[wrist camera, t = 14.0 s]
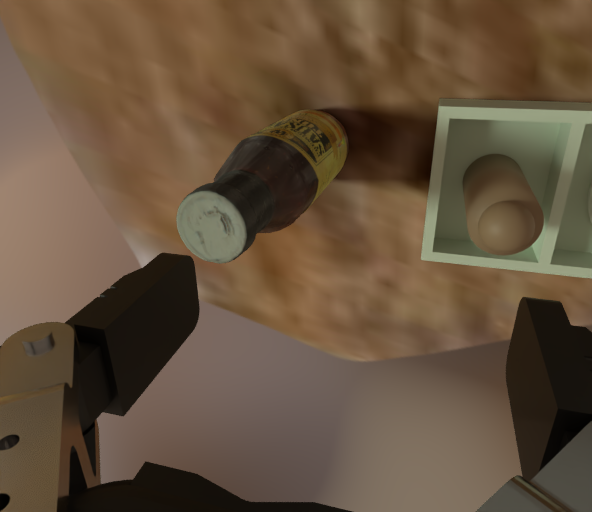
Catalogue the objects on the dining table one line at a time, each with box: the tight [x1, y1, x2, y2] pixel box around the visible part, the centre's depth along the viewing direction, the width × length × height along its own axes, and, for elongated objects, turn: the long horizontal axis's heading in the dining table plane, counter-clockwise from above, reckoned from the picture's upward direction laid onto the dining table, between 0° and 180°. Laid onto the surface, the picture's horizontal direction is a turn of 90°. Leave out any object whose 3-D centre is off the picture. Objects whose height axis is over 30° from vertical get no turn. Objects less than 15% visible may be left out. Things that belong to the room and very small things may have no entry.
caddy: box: [421, 98, 592, 278], centre depth 32 cm, size 12×18×12 cm, turn 90°
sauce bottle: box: [177, 110, 349, 263], centre depth 33 cm, size 7×6×20 cm
